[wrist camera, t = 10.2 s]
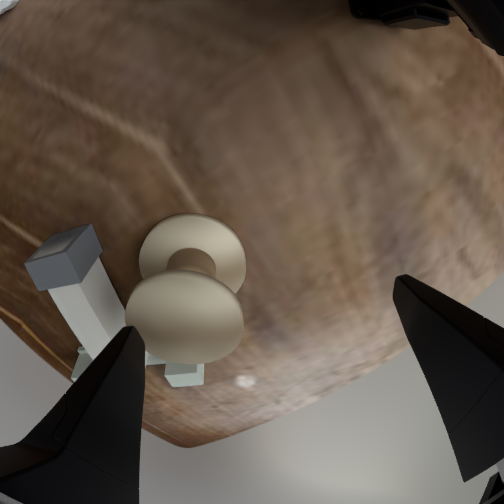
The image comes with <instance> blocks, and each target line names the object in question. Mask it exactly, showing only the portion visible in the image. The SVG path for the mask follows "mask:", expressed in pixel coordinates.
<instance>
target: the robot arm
mask: <svg viewBox="0 0 504 504" xmlns="http://www.w3.org/2000/svg"><path fill="white" fill-rule="evenodd" d="M349 5H350V9H351V13H352V15H353V16H354V17H355V18H358V19H368V20H379V21H382V23H383V24H384V25H386V26H393V27H401V28H408V29H421V28H428V27H436V26H446V25H448V24H449V23H450V20H449V17H455V16H459V17H460V18H461V19H462V21H463V22H464V23H465V24H466V25H467V27H468V28H469V29H468V30H469V31H470V32H471V34H472V35H473V36H474V37H475V38H478V39H480V41H481V42H482V43H483V44H485V45H487V46H488V47H490V48H492V49H494V50H495V51H496V52H497V54H498V55H501V56H504V0H349ZM357 9H359V10H360V11H361V13H362V14H361V15H360V14H359V13H358V12H357ZM393 301H394V304H395V306H396V309H397V312H398V314H399V317H400V320H401V323H402V325H403V328H404V331H405V334H406V336H407V338H408V341H409V343H410V345H411V347H412V349H413V351H414V353H415V355H416V358H417V360H418V362H419V364H420V366H421V369H422V371H423V373H424V375H425V378H426V380H427V382H428V385H429V387H430V389H431V392H432V394H433V397H434V399H435V401H436V404H437V406H438V409H439V411H440V414H441V417H442V419H443V422H444V424H445V427H446V430H447V433H448V436H449V439H450V442H451V444H452V447H453V450H454V453H455V456H456V459H457V463H458V466H459V469H460V472H461V476H462V478H463V481H464V482H466V481H468V480H470V479H471V478H473V477H475V476H476V475H478V474H480V473H482V472H483V471H485V470H487V469H488V468H490V467H491V466H493V465H494V464H496V465H497V468H498V470H499V471H498V472H497V473H496V474H494V475H493V476H492V477H490V479H489V482H488V484H487V487H486V489H485V492H484V494H483V496H482V499H481V501H480V503H479V504H504V328H503V327H501V326H499V325H497V324H495V323H494V322H492V321H490V320H489V319H487V318H484V317H483V316H482V315H480V314H478V313H476V312H475V311H473V310H471V309H470V308H468V307H466V306H464V305H463V304H461V303H459V302H457V301H456V300H454V299H452V298H450V297H448V296H447V295H445V294H443V293H441V292H439V291H437V290H436V289H434V288H432V287H430V286H428V285H426V284H425V283H423V282H421V281H419V280H417V279H415V278H413V277H411V276H410V275H407V274H404V275H400V276H397V277H396V278H395V283H394V289H393ZM144 391H145V343H144V340H143V338H142V337H141V335H140V334H139V332H138V330H137V328H136V327H135V326H125V327H123V328H122V329H121V330H120V331H119V332H118V333H117V334H116V335H115V336H114V337H113V339H112V340H111V341H110V342H109V343H108V344H107V345H106V346H105V348H104V349H103V350H102V351H101V352H100V353H99V354H98V356H97V357H96V358H95V359H94V360H93V361H92V362H91V364H90V365H89V366H88V367H87V368H86V369H85V370H84V372H83V373H82V374H81V375H80V376H79V377H78V379H77V380H76V381H75V382H74V383H73V385H72V386H71V387H70V388H69V389H68V391H67V392H66V394H64V395H63V396H62V398H61V399H60V400H59V401H58V402H57V404H56V405H55V406H54V407H53V408H52V409H51V410H50V412H49V413H48V414H47V415H46V416H45V417H44V418H43V419H42V420H41V421H40V422H39V423H38V424H37V425H36V426H35V427H34V428H33V429H32V430H31V431H30V432H29V433H28V435H27V436H26V437H25V438H23V439H22V440H21V441H20V442H18V443H16V444H13V445H9V446H4V447H0V504H139V489H138V488H139V466H140V465H139V464H140V441H141V427H142V414H143V402H144Z"/></svg>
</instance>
